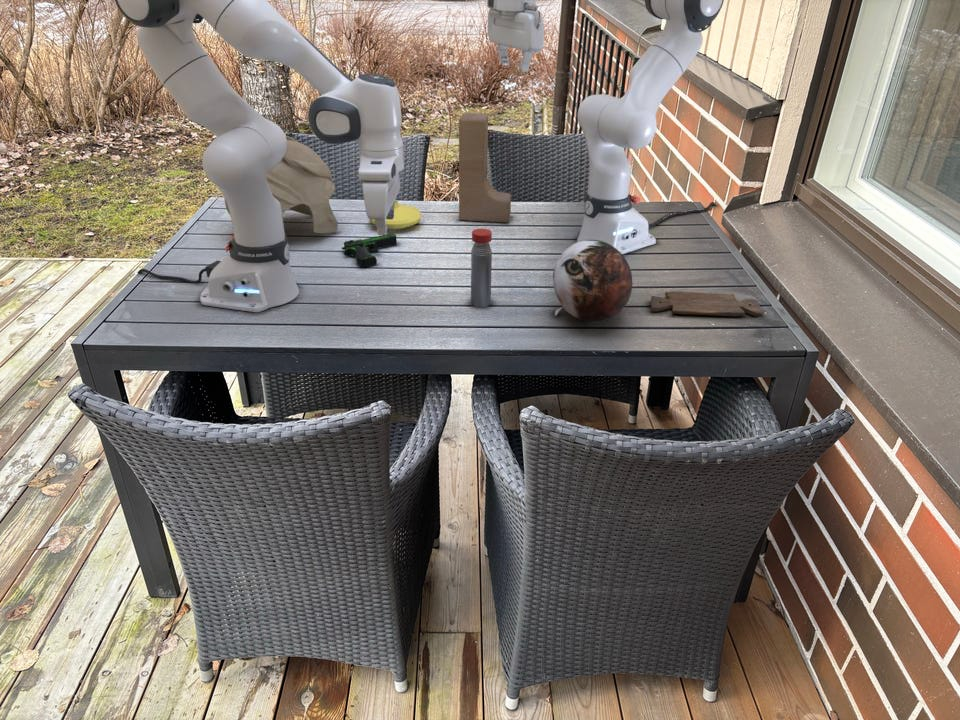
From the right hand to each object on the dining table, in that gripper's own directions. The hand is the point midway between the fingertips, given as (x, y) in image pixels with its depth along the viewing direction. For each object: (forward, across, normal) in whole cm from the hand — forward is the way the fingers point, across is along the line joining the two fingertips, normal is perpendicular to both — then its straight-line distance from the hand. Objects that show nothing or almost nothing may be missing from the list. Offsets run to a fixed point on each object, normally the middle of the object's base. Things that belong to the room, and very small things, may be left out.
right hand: (513, 68), depth 165 cm
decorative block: (+48, +32, -10) cm, 58 cm away
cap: (+31, -20, +18) cm, 41 cm away
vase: (+48, +38, +17) cm, 63 cm away
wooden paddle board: (+48, -44, -29) cm, 71 cm away
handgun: (+48, +19, +30) cm, 60 cm away
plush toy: (+48, -36, -2) cm, 60 cm away
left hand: (+27, -17, +39) cm, 50 cm away
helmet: (+48, +45, +48) cm, 82 cm away
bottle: (+48, -20, +18) cm, 55 cm away
